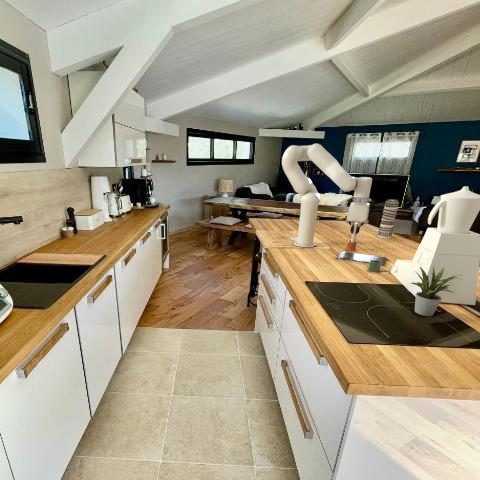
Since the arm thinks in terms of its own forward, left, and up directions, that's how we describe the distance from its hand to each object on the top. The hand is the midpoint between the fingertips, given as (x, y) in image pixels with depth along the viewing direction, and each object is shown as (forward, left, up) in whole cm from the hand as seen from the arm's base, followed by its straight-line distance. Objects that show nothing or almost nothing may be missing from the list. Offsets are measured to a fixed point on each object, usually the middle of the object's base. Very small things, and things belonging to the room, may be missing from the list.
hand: (354, 233), depth 181 cm
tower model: (+13, +52, -10) cm, 55 cm away
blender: (+36, -49, -10) cm, 62 cm away
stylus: (0, 0, -9) cm, 9 cm away
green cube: (+16, -38, -10) cm, 42 cm away
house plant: (+36, -79, -10) cm, 87 cm away
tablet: (+8, -18, -10) cm, 22 cm away
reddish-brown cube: (0, 0, -10) cm, 10 cm away
